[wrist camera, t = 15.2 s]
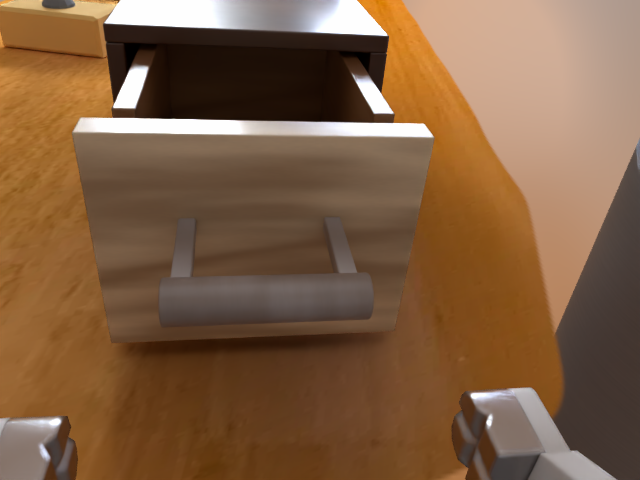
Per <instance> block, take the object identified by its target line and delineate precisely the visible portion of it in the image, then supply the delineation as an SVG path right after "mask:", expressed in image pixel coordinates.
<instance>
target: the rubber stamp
mask: <svg viewBox="0 0 640 480" xmlns="http://www.w3.org/2000/svg"><path fill="white" fill-rule="evenodd" d="M115 7H116V5H112V4H103V3H94V2H85V1H76V0H14V1H11V2H8V3H5V4H2V5H0V32H1V36H2V40H3V44H4V46H7V47H15V48H23V49H32V50H40V51H49V52H58V53H66V54H75V55H83V56H92V57H100V58H104V57H106V56H107V51H106V41H105V37H104V30H103V23H104V22H105V20H106V19H107V18H108V16H109V15H110V13H111V12H112V11H113V9H114V8H115Z"/></svg>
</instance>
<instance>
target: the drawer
mask: <svg viewBox="0 0 640 480" xmlns="http://www.w3.org/2000/svg"><path fill="white" fill-rule="evenodd" d="M112 116H113V118H80V119H79V121H78V123H77V125H76V126H75V128H74V130H73V132H72V136H73V142H74V147H75V152H76V158H77V163H78V168H79V173H80V179H81V184H82V189H83V195H84V200H85V205H86V211H87V216H88V221H89V227H90V232H91V237H92V242H93V248H94V253H95V258H96V264H97V269H98V274H99V280H100V285H101V290H102V295H103V301H104V306H105V311H106V317H107V322H108V327H109V333H110V338H111V342H112V343H126V342H150V341H173V340H197V339H220V338H244V337H267V336H291V335H314V334H337V333H361V332H384V331H394V330H395V325H396V321H397V316H398V311H399V306H400V301H401V297H402V292H403V287H404V282H405V277H406V273H407V268H408V263H409V258H410V253H411V249H412V244H413V239H414V234H415V229H416V225H417V220H418V215H419V210H420V205H421V201H422V196H423V191H424V186H425V181H426V177H427V172H428V167H429V162H430V157H431V153H432V148H433V143H434V136H433V135H432V134H431V132H430V131H429V130H428V128H427V127H426V126H425V124H398V123H393V121H394V113H393V111H392V110H391V108H390V107H389V105H388V104H387V102H386V101H385V99H384V97H383V96H382V94H381V93H380V91H379V90H378V88H377V87H376V85H375V84H374V82H373V80H372V79H371V77H370V76H369V74H368V73H367V71H366V70H365V68H364V67H363V65H362V64H361V62H360V60H359V59H358V57H357V56H356V54H355V53H354V52H346V51H321V50H295V49H270V48H244V47H219V46H193V45H168V44H142V43H141V45H140V47H139V49H138V51H137V54H136V56H135V58H134V60H133V62H132V65H131V67H130V69H129V71H128V74H127V76H126V78H125V80H124V82H123V85H122V87H121V89H120V91H119V93H118V96H117V98H116V100H115V102H114V105H113V107H112Z"/></svg>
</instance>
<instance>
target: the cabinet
mask: <svg viewBox="0 0 640 480" xmlns="http://www.w3.org/2000/svg"><path fill="white" fill-rule="evenodd" d="M103 30H104V37H105V41H106V51H107V59H108V66H109V73H110V80H111V88H112V95H113V102H115V100H116V98H117V96H118V93H119V91H120V89H121V87H122V85H123V82H124V80H125V78H126V76H127V74H128V71H129V69H130V67H131V65H132V62H133V60H134V58H135V56H136V54H137V51H138V49H139V47H140V45H141V43H142V44H168V45H193V46H219V47H244V48H270V49H295V50H321V51H346V52H354V53H355V54H356V56H357V57H358V59H359V60H360V62H361V64H362V65H363V67H364V68H365V70H366V71H367V73H368V74H369V76H370V77H371V79H372V80H373V82H374V84H375V85H376V87H377V88H378V90H379V91H380V93H381V91H382V84H383V77H384V70H385V63H386V56H387V54H386V52H387V48H388V41H389V36H388V35H387V34H386V33H385V31H384V30H383V29H382V28H381V27H380V26H379V25H378V24H377V22H376V21H375V20H374V19H373V18H372V17H371V16H370V15H369V14H368V12H367V11H366V10H365V9H364V8H363V7H362V6H361V5H360V4H359V2H358V1H357V0H120V1H119V2H118V4H117V5H116V7H115V8H114V9H113V11H112V12H111V13H110V15H109V16H108V18H107V19H106V20H105V22H104V23H103Z"/></svg>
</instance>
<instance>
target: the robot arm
mask: <svg viewBox="0 0 640 480" xmlns="http://www.w3.org/2000/svg"><path fill="white" fill-rule="evenodd" d="M459 404H460V407H461V409H462V410H461V411H460V412H459V413H458V414H456V415H455V416H454V419H453V423H452V442H453V446H454V450H455V453H456V456H457V458H458V460H459V461H460V462H461V463H463V464H464V465H465V466H466V467H467V468H468V471H467V474H466V478H465V479H466V480H617V479H615V478H614V477H612V476H611V475H610V474H608V473H607V472H606V471H604V470H603V469H601V468H600V467H599V466H597V465H596V464H595V463H593V462H592V461H590V460H589V459H588V458H586V457H585V456H584V455H582V454H581V453H579V452H578V451H570V449H569V447H568V446H567V444H566V442H565V441H564V439H563V437H562V435H561V434H560V432H559V430H558V429H557V427H556V425H555V424H554V422H553V420H552V419H551V417H550V415H549V413H548V412H547V410H546V408H545V407H544V405H543V403H542V402H541V400H540V398H539V396H538V395H537V393H536V391H534V390H533V389H532V388H514V389H506V388H505V389H491V390H478V391H465V392H464V393H463V394H462V395H461V398H460V401H459ZM70 429H71V425H70V422H69V419H68V416H50V417H20V418H0V480H76V475H77V464H78V455H77V447H76V443H75V441H74V440H73V439H71V438H69V437H68V436H69V433H70Z"/></svg>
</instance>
